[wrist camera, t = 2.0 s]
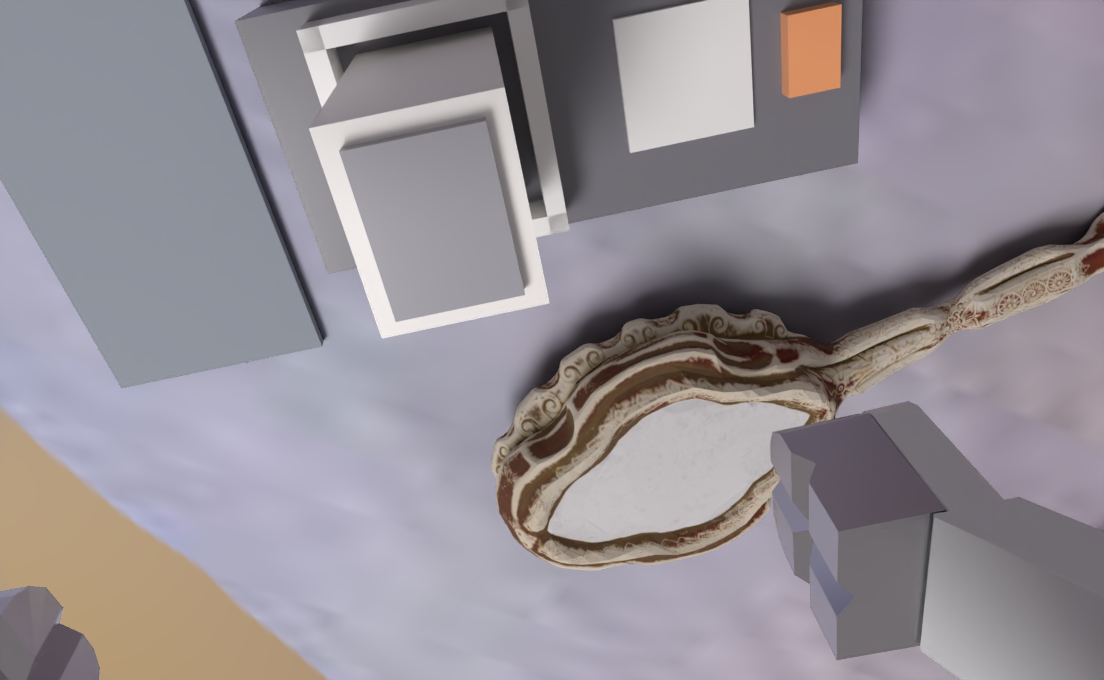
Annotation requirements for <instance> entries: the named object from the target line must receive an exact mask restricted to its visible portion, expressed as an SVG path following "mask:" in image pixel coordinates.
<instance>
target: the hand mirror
mask: <svg viewBox="0 0 1104 680" xmlns="http://www.w3.org/2000/svg"><path fill="white" fill-rule="evenodd" d="M1103 271H1104V212H1103V213H1102V214H1100V215H1099V216H1098V217H1097V218H1096V219H1095V220H1094V221H1093V222H1092V224H1091V226H1090V228H1089V230H1088V231H1087V233H1086V235H1085V236H1084V237H1083V238H1082V239H1080V240H1079V241H1077V242H1076V243H1074V244H1073V245H1046V246H1042V247H1038V248H1034V249H1032V250H1030V251H1028V252H1026V253H1024V254H1022V255H1020V256H1018V257H1016V258H1013V259H1011V260H1009V261H1007V262H1005V263H1003V264H1001V265H999V266H997V267H995V268H993V269H992V270H990V271H988V272H986V273H984V274H983V275H981V276H979V277H977V278H975V279H974V280H973V281H971V282H970V283H969V284H967V285H966V286H965V288H964V289H963V290H962V291H961V292H960V293H959V294H958V295H957V296H956V297H955V298H953V299H951V300H948V301H946V302H944V303H942V304H939V305H937V306H933V307H929V308H911V309H908V310H906V311H903V312H900V313H898V314H895V315H893V316H890V317H888V318H885V319H883V320H880V321H878V322H875V323H872V324H870V325H867V326H864V327H862V328H859V329H857V330H854V331H851V332H849V333H847V334H845V335H844V336H842V337H840V338H839V339H837V340H835V341H834V342H832V343H827V344H822V343H819V342H816V341H814V340H813V339H811V338H809V337H807V336H805V335H802V334H797V333H792V332H789V331H787V330H786V327H785V326H784V324H783V322H782V321H781V319H780V317H779V316H777V315H775V314H773V313H770V312H767V311H763V310H759V309H754V310H752V311H750V312H748V313H746V314H741V315H736V314H732V313H728V312H726V311H725V310H723V309H722V308H721V307H719V306H718V305H711V304H694V305H688V306H681V307H679V308H678V309H677V310H675V311H674V312H673V313H671V314H670V315H669V316H666V317H663V318H658V319H653V320H652V319H642V318H639V319H635V320H632V321H629V322H627V323H626V324H624V326H623V328H622V329H621V331H620V332H619V333H618V334H617V335H616V336H615V337H613V338H612V339H609V340H607V341H605V342H601V343H588V344H583V345H582V346H580V347H579V348H577V349H576V350H574V351H573V352H571V353H570V354H568V355H567V356H565V357H564V358H563V359H562V360H561V363H560V366H559V369H558V372H557V373H556V374H555V375H554V377H553V378H552V379H551V380H550V381H548V382H547V383H546V384H545V385H542V386H539V387H536V388H533V389H532V390H531V391H530V392H529V393H528V394H527V395H526V396H525V398H524V399H523V400H522V401H521V402H520V403H519V404H518V406H517V408H516V412H515V417H514V422H513V424H512V426H511V427H510V429H509V430H508V432H507V433H505V434H504V435H503V436H502V437H500V438H498V439H497V440H496V442H495V444H494V449H493V454H492V459H491V470H492V471H493V473H494V476H495V478H496V480H497V482H496V504H497V507H498V510H499V512H500V515H501V517H502V519H503V520H504V522H505V524H506V526H507V527H508V529H509V531H510V533H511V534H512V536H513V537H514V538H515V540H516V541H517V542H518V543H519V544H521V545H522V546H523V547H524V548H525V549H527V550H528V551H530V552H531V553H532V554H534V555H535V556H537V557H539V558H541V559H543V560H545V561H547V562H549V563H551V564H553V565H555V566H558V567H561V568H565V569H577V570H591V571H597V570H602V569H606V568H610V567H614V566H619V565H625V564H640V565H654V564H660V563H666V562H672V561H677V560H681V559H685V558H689V557H693V556H697V555H701V554H704V553H707V552H711V551H714V550H716V549H718V548H720V547H722V546H724V545H726V544H728V543H730V542H731V541H733V540H735V539H736V538H738V537H740V536H741V535H743V534H744V533H746V532H747V531H748V530H750V529H751V528H752V527H754V526H755V525H756V524H758V523H759V522H760V520H761V519H762V518H763V517H764V516H765V515H766V513H767V512H768V511H769V510H770V505H771V497H772V491H773V489H774V488H775V487H776V485H777V484H778V482H779V481H780V478H779V476H778V474H777V472H776V470H775V468H774V466H773V465H772V463H771V458H770V441H771V436H772V432H775V431H780V430H784V429H789V428H794V427H799V426H803V425H808V424H813V423H817V422H822V421H827V420H831V419H835V416H836V413H837V410H838V408H839V406H840V405H841V403H842V402H843V400H844V399H845V398H847V397H849V396H853V395H857V394H861V393H863V392H865V391H867V390H869V389H870V388H872V387H873V386H875V385H876V384H878V383H879V382H881V381H882V380H884V379H885V378H887V377H888V376H890V375H891V374H893V373H894V372H896V371H898V370H899V369H901V368H903V367H905V366H907V365H909V364H911V363H913V362H916V361H918V360H920V359H922V358H924V357H926V356H927V355H929V354H930V353H931V352H933V351H934V350H935V349H936V348H938V347H939V346H940V345H941V344H942V343H943V342H944V341H945V340H946V339H947V338H948V337H949V336H950V335H952V334H953V333H955V332H957V331H961V330H965V329H982V328H985V327H987V326H990V325H992V324H994V323H997V322H999V321H1002V320H1004V319H1006V318H1009V317H1011V316H1013V315H1016V314H1018V313H1021V312H1023V311H1026V310H1029V309H1031V308H1034V307H1037V306H1039V305H1042V304H1044V303H1047V302H1050V301H1052V300H1054V299H1056V298H1058V297H1059V296H1061V295H1063V294H1065V293H1066V292H1068V291H1070V290H1072V289H1074V288H1076V287H1077V286H1079V285H1081V284H1083V283H1084V282H1086V281H1087V280H1089V279H1090V278H1092V277H1093V276H1094V275H1096V274H1098V273H1100V272H1103Z"/></svg>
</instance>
